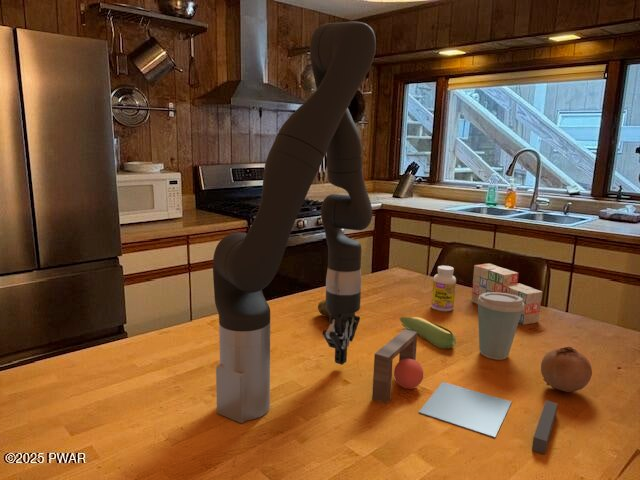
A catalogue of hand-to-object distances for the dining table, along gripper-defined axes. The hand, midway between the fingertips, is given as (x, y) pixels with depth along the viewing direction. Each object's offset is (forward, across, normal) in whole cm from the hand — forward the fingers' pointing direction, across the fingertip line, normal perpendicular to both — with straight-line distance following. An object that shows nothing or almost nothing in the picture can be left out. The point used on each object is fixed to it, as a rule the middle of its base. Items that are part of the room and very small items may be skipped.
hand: (340, 362), depth 109 cm
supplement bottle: (+2, +52, -6) cm, 52 cm away
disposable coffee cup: (+2, +28, -27) cm, 39 cm away
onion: (+2, +18, -43) cm, 47 cm away
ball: (-2, +1, -16) cm, 16 cm away
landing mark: (+2, 0, -28) cm, 28 cm away
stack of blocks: (+2, +61, -22) cm, 65 cm away
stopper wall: (+2, 0, -42) cm, 42 cm away
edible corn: (+2, +29, -9) cm, 30 cm away
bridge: (+2, 0, -13) cm, 13 cm away
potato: (+2, +24, +15) cm, 28 cm away
